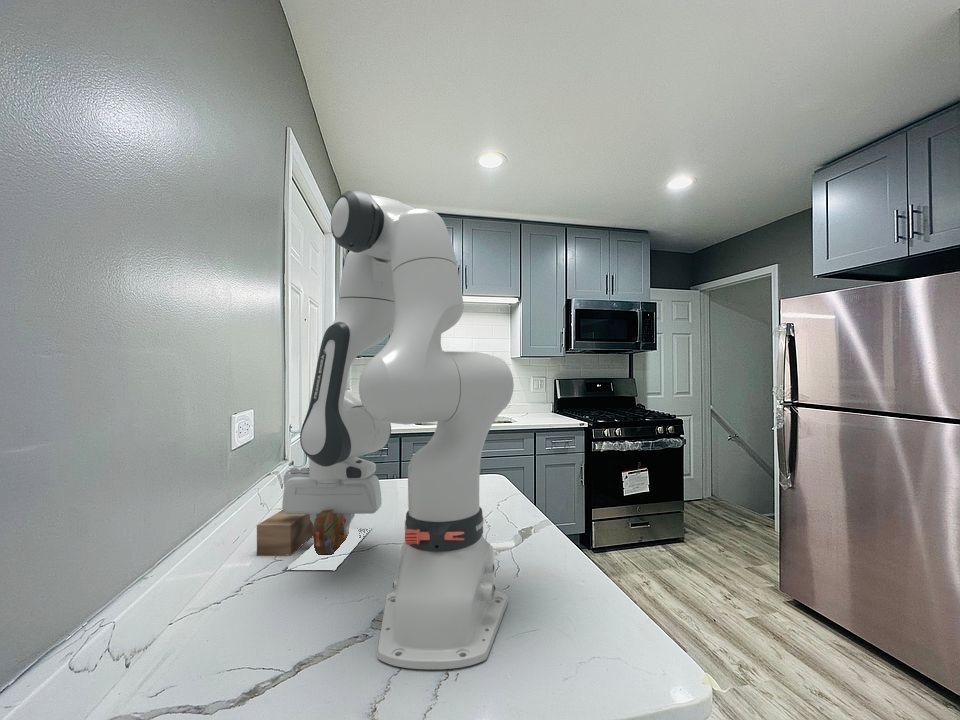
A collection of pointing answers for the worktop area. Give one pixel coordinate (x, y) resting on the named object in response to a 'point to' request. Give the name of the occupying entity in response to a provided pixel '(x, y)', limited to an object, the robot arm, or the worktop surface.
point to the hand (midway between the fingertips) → (332, 534)
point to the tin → (328, 532)
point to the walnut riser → (283, 533)
